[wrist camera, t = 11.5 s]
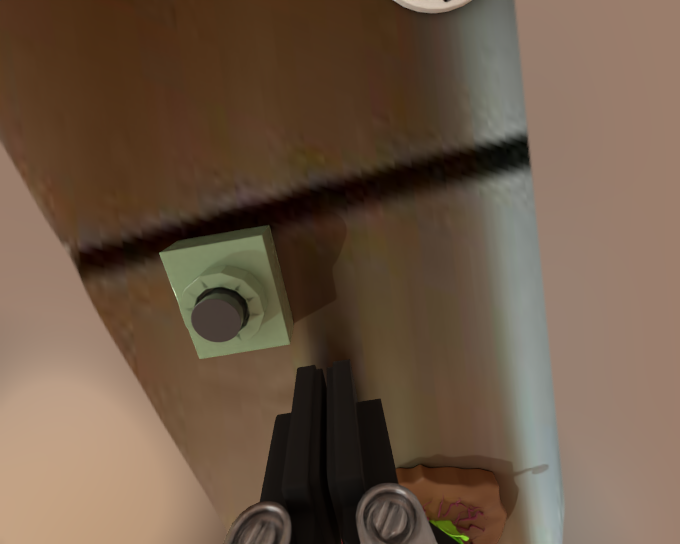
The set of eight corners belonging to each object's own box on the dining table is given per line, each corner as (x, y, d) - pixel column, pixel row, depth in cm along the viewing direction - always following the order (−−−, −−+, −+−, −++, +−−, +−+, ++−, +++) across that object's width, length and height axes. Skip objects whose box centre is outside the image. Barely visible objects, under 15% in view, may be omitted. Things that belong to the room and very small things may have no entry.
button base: (178, 240, 32) (146, 260, 26) (269, 224, 32) (257, 241, 26) (212, 337, 36) (191, 372, 30) (294, 323, 36) (288, 356, 30)
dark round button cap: (193, 292, 28) (183, 303, 26) (239, 284, 28) (233, 295, 26) (207, 333, 29) (199, 346, 27) (252, 325, 29) (246, 338, 27)
